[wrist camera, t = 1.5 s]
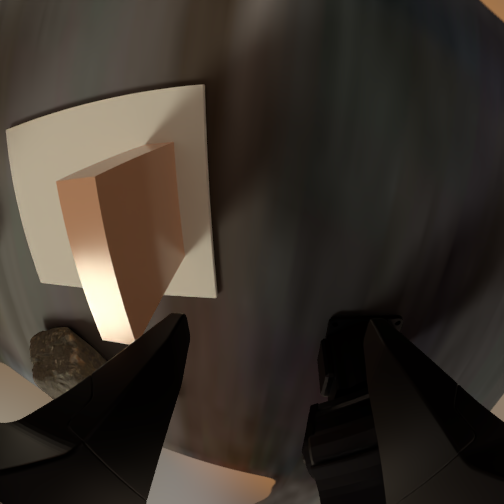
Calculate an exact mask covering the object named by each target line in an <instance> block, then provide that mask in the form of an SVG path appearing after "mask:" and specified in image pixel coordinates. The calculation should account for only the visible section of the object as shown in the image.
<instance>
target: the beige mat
mask: <svg viewBox="0 0 504 504" xmlns="http://www.w3.org/2000/svg"><path fill="white" fill-rule="evenodd" d="M6 137H7V146H8V154H9V161H10V167H11V173H12V179H13V184H14V189H15V194H16V199H17V203H18V208H19V212H20V216H21V220H22V224H23V228H24V231H25V235H26V238H27V242H28V245H29V248H30V252H31V255H32V258H33V261H34V264H35V267H36V270H37V273H38V275H39V278H40V281H41V283H47V284H56V285H64V286H73V287H82V288H83V286H82V283H81V280H80V277H79V274H78V271H77V268H76V264H75V261H74V257H73V254H72V250H71V247H70V243H69V239H68V235H67V231H66V227H65V223H64V219H63V214H62V210H61V205H60V200H59V195H58V190H57V184H56V181H58V180H60V179H62V178H64V177H66V176H68V175H71V174H73V173H75V172H77V171H79V170H82V169H84V168H86V167H89V166H91V165H93V164H96V163H98V162H100V161H103V160H105V159H108V158H110V157H113V156H115V155H118V154H120V153H123V152H126V151H128V150H131V149H134V148H136V147H139V146H142V145H145V144H155V143H166V142H174V152H175V165H176V177H177V188H178V199H179V209H180V218H181V227H182V236H183V244H184V252H185V257H184V259H183V261H182V262H181V264H180V266H179V268H178V270H177V271H176V273H175V275H174V277H173V279H172V280H171V282H170V284H169V286H168V288H167V289H166V291H165V293H164V295H173V296H189V297H206V298H216V297H217V284H216V272H215V261H214V248H213V235H212V222H211V207H210V191H209V174H208V155H207V133H206V105H205V85H203V84H202V85H191V86H182V87H173V88H166V89H159V90H152V91H146V92H140V93H134V94H129V95H123V96H118V97H114V98H109V99H104V100H100V101H96V102H92V103H88V104H84V105H80V106H76V107H72V108H69V109H65V110H62V111H59V112H55V113H52V114H49V115H46V116H43V117H40V118H37V119H34V120H31V121H28V122H25V123H23V124H20V125H17V126H15V127H12V128H10V129H7V130H6Z"/></svg>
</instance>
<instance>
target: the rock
mask: <svg viewBox="0 0 504 504" xmlns="http://www.w3.org/2000/svg"><path fill="white" fill-rule="evenodd" d="M30 343H31V345H30V356H31V357H30V359H31V362H32V363H33V364H34V366H33V369H32V372H33V379H34V382H35V383H36V384H37V386H38V387H39V388H41V390H42V391H44V392H45V393H46V394H48V395H49V396H50V397H51V398H53V399H56V398H57V397H59V396H60V395H62V394H64V393H65V392H67V391H68V390H70V389H71V388H72V387H74V386H75V385H77V384H78V383H79V382H81V381H82V380H83V379H85V378H86V377H87V376H89V375H91V374H92V373H93V372H94V371H96V370H97V369H98V368H100V367H101V366H102V365H103V364H105V363H106V362H107V360H106V359H104V358H103V357H102V356H101V354H100V353H98V352H97V351H96V349H94V348H93V347H92V346H90V345H89V344H88V343H87V342H85V341H84V340H83V339H81V338H80V337H79V336H78V335H77V334H76V333H74V332H73V331H72V330H71V329H69V328H68V327H57V328H52V329H50V330H47V331H42V332H39V333H37V334H36V335H34V336H33V337H32V339H31V341H30Z"/></svg>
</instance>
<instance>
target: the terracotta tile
mask: <svg viewBox="0 0 504 504" xmlns="http://www.w3.org/2000/svg"><path fill="white" fill-rule="evenodd" d="M56 184H57V190H58V195H59V200H60V205H61V210H62V214H63V219H64V223H65V227H66V231H67V235H68V239H69V243H70V247H71V250H72V254H73V257H74V261H75V264H76V268H77V271H78V274H79V277H80V280H81V283H82V286H83V289H84V292H85V295H86V298H87V301H88V304H89V307H90V309H91V312H92V315H93V317H94V320H95V322H96V325H97V328H98V330H99V333H100V335H101V337H102V340H105V341H111V342H117V343H123V344H129V345H130V344H131V343H133V342H134V341H135V340H137V339H138V338H139V337H140V336H142V335H143V333H144V331H145V329H146V327H147V325H148V323H149V321H150V319H151V317H152V315H153V314H154V312H155V310H156V308H157V306H158V304H159V302H160V300H161V299H162V297H163V295H164V293H165V291H166V289H167V288H168V286H169V284H170V282H171V280H172V279H173V277H174V275H175V273H176V271H177V270H178V268H179V266H180V264H181V262H182V261H183V259H184V257H185V252H184V244H183V236H182V227H181V218H180V209H179V199H178V188H177V177H176V165H175V152H174V142H166V143H155V144H145V145H142V146H139V147H136V148H134V149H131V150H128V151H126V152H123V153H120V154H118V155H115V156H113V157H110V158H108V159H105V160H103V161H100V162H98V163H96V164H93V165H91V166H89V167H86V168H84V169H82V170H79V171H77V172H75V173H73V174H71V175H68V176H66V177H64V178H62V179H60V180H58V181H56Z"/></svg>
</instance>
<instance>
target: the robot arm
mask: <svg viewBox="0 0 504 504" xmlns="http://www.w3.org/2000/svg"><path fill="white" fill-rule="evenodd" d="M397 321H398V322H397ZM335 322H337V323H336V324H333V323H335ZM402 325H403V319H402V317H401V316H362V317H332V318H331V319H330V320H329V322H328V328H327V333H326V338H325V339H323V340H322V341H321V344H320V349H319V354H318V359H317V361H318V371H319V381H320V392H321V395H322V396H323V397H328V401H327V402H324V403H321V404H318V403H317V404H314V405H311V406H310V412H309V416H308V422H307V427H306V433H305V438H304V443H303V448H302V453H303V462H304V463H305V464H306V466H307V469H308V471H309V473H310V475H311V477H312V478H313V479H314V480H315V481H316V484H317V487H318V491H319V496H320V502H321V504H504V422H503V421H502V420H500V419H499V418H498V417H496V416H495V415H494V414H493V413H491V412H490V411H489V410H487V409H486V408H485V407H484V406H482V405H481V404H480V403H479V402H478V401H476V400H475V399H474V398H473V397H472V396H471V395H470V394H468V393H467V392H466V391H465V390H464V389H463V388H462V387H461V386H460V385H458V384H457V383H456V382H455V381H454V380H453V379H452V378H451V377H450V376H449V375H448V374H446V373H445V372H444V371H443V370H442V369H441V368H440V367H439V366H438V365H436V364H435V363H434V362H433V361H432V360H431V359H430V358H429V357H427V356H426V355H425V354H424V353H423V352H422V351H421V350H420V349H418V348H417V347H416V346H415V345H414V344H413V343H412V342H410V341H409V340H408V339H407V338H406V337H405V336H404V335H402V334H401V333H400V330H401V328H402ZM189 343H190V332H189V327H188V322H187V317H186V315H185V314H183V313H171V314H170V315H168V316H167V317H166V318H164V319H163V320H162V321H160V322H159V323H158V324H156V325H155V326H154V327H152V328H151V329H150V330H148V331H147V332H146V333H144V334H143V335H142V336H140V337H139V338H138V339H137V340H135V341H134V342H133V343H131V344H130V345H129V346H127V347H126V348H125V349H123V350H122V351H121V352H119V353H118V354H117V355H115V356H114V357H113V358H111V359H110V360H109V361H107V362H106V363H105V364H103V365H102V366H101V367H100V368H98V369H97V370H96V371H94V372H93V373H92V374H91V375H89V376H87V377H86V378H85V379H83V380H82V381H81V382H79V383H78V384H77V385H75V386H74V387H72V388H71V389H70V390H68V391H67V392H65V393H64V394H62V395H60V396H59V397H57V398H56V399H54V400H53V401H51V402H49V403H48V404H46V405H44V406H43V407H41V408H39V409H38V410H36V411H34V412H33V413H31V414H29V415H28V416H26V417H24V418H22V419H20V420H17V421H14V422H9V423H0V504H146V500H147V498H148V495H149V491H150V487H151V484H152V480H153V477H154V474H155V470H156V467H157V463H158V460H159V456H160V453H161V450H162V446H163V443H164V440H165V436H166V433H167V430H168V427H169V423H170V420H171V417H172V414H173V410H174V407H175V404H176V401H177V397H178V394H179V391H180V388H181V384H182V380H183V374H184V369H185V364H186V358H187V353H188V348H189ZM457 385H458V386H457Z"/></svg>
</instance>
